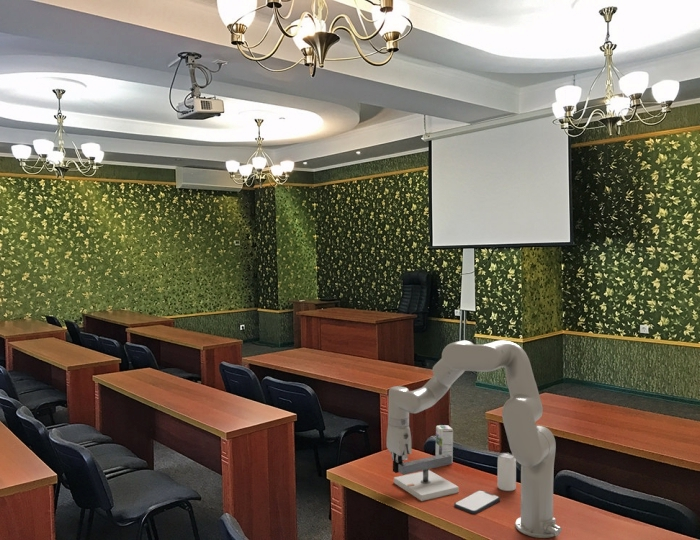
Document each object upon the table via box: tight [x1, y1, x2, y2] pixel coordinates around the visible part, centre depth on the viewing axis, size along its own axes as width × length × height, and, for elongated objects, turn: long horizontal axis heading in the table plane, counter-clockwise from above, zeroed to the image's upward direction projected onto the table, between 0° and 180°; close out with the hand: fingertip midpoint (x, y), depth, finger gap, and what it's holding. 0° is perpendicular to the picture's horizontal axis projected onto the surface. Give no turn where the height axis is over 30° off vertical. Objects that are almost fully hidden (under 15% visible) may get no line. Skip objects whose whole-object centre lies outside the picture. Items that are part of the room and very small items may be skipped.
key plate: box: [393, 469, 460, 502], centre depth 206 cm, size 18×16×2 cm
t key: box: [398, 453, 452, 483], centre depth 206 cm, size 22×3×8 cm, turn 120°
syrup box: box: [435, 424, 454, 464], centre depth 233 cm, size 6×6×14 cm
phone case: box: [454, 490, 501, 515], centre depth 193 cm, size 9×2×16 cm
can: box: [497, 452, 517, 492], centre depth 206 cm, size 6×6×12 cm
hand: (397, 471), depth 205 cm, fingers closed
